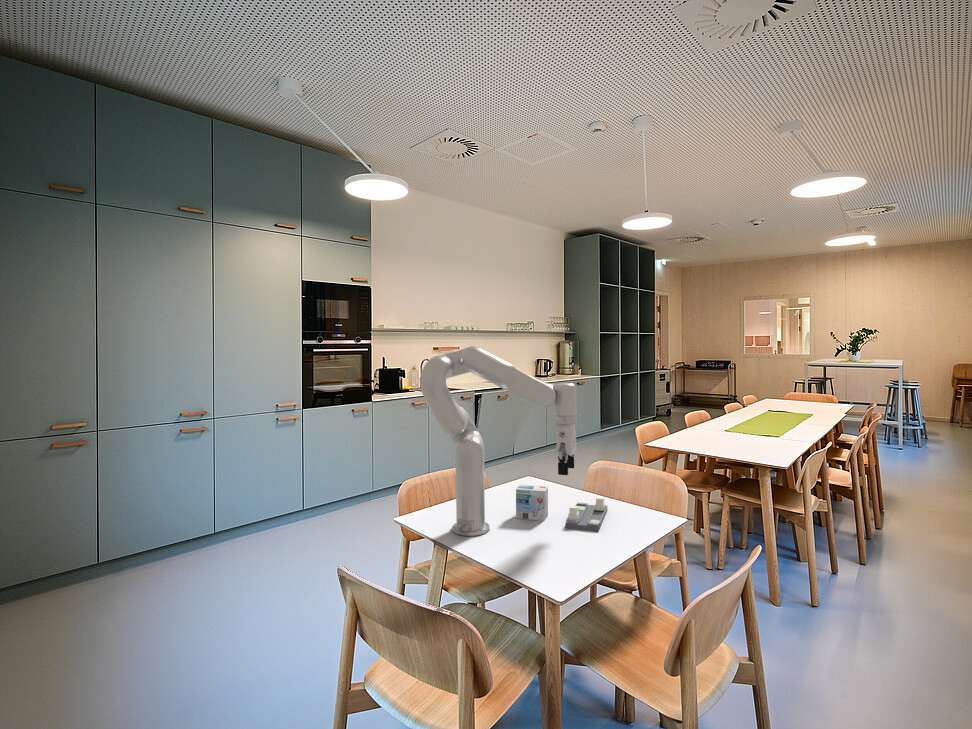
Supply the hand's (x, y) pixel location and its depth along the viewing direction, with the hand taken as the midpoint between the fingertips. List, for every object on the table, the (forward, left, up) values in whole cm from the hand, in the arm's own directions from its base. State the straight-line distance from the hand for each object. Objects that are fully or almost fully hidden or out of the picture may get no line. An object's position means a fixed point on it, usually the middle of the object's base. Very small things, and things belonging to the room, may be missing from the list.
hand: (566, 471), depth 167 cm
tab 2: (+18, -8, -17) cm, 27 cm away
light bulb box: (+7, +14, -20) cm, 25 cm away
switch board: (+12, -5, -19) cm, 23 cm away
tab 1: (+5, -1, -17) cm, 18 cm away
